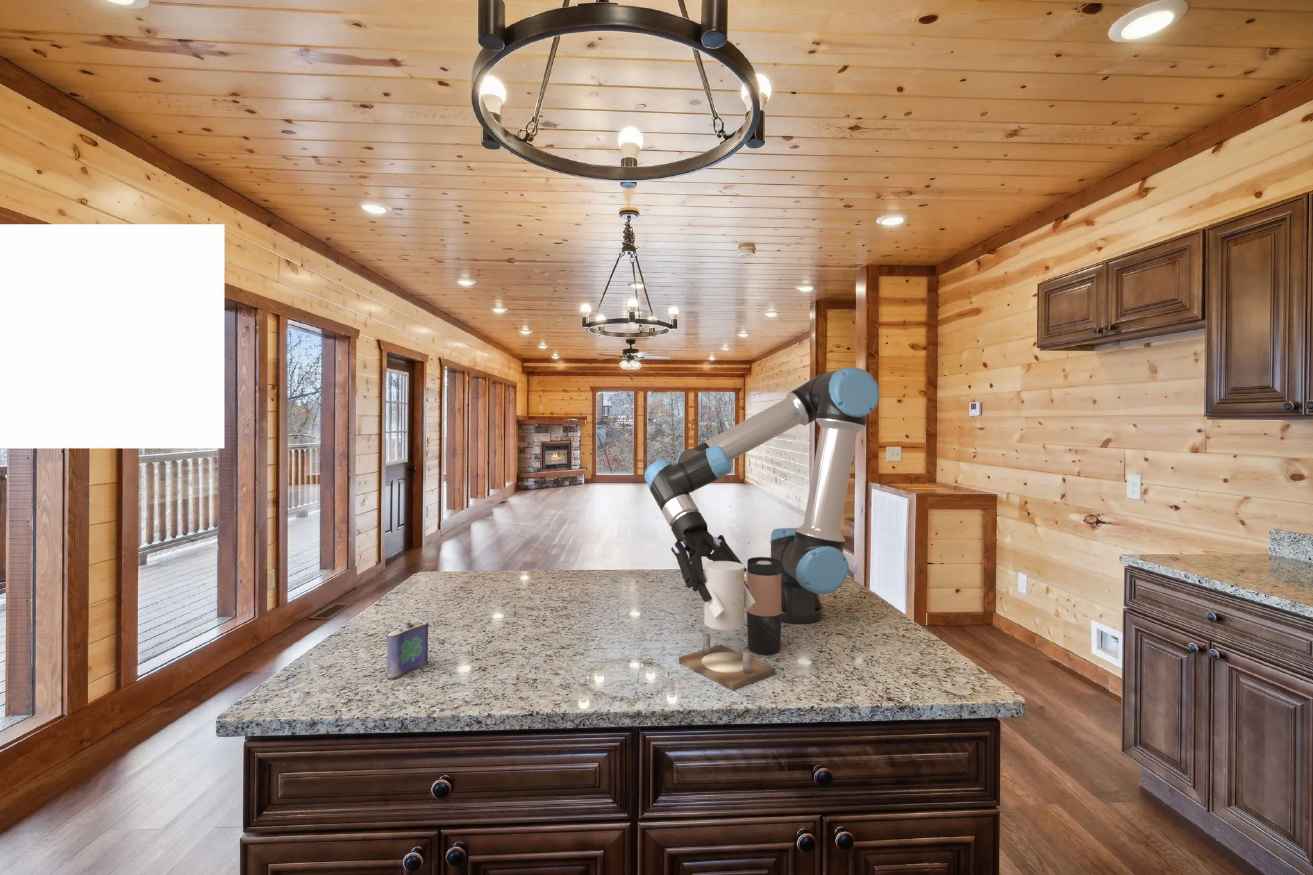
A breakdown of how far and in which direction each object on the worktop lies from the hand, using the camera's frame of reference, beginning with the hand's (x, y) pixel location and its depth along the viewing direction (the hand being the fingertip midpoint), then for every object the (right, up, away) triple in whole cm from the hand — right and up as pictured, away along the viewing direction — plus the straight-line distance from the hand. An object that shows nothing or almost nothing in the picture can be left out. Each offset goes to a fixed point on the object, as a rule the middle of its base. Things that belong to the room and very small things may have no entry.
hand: (735, 610), depth 116 cm
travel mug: (+8, -13, +13) cm, 20 cm away
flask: (-67, -13, +2) cm, 68 cm away
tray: (-2, -13, +3) cm, 13 cm away
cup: (-2, -4, +3) cm, 5 cm away
